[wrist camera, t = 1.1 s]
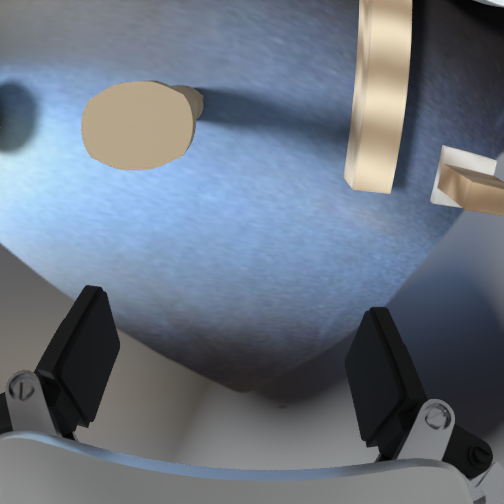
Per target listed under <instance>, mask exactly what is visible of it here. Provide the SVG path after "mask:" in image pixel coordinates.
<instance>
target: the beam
mask: <svg viewBox="0 0 504 504" xmlns="http://www.w3.org/2000/svg"><path fill="white" fill-rule="evenodd" d="M411 32H412V0H360V3H359V30H358V48H357V63H356V76H355V87H354V98H353V107H352V116H351V125H350V133H349V141H348V149H347V156H346V163H345V170H344V177H343V178H344V179H345V180H346V181H347V183H348V184H349V185H350V186H351V187H352V189H353V190H361V191H370V192H380V193H388V194H390V193H391V188H392V184H393V179H394V174H395V169H396V163H397V158H398V152H399V146H400V140H401V134H402V127H403V120H404V113H405V105H406V97H407V88H408V78H409V66H410V52H411Z"/></svg>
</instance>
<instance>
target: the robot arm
mask: <svg viewBox="0 0 504 504" xmlns="http://www.w3.org/2000/svg"><path fill="white" fill-rule="evenodd" d="M119 349H120V341H119V337H118V334H117V330H116V327H115V323H114V320H113V316H112V312H111V308H110V305H109V301H108V297H107V293H106V292H105V291H103V289H102V288H101V287H98V286H90V285H87V286H85V287H84V289H83V290H82V292H81V293H80V295H79V297H78V298H77V300H76V301H75V303H74V305H73V306H72V308H71V309H70V311H69V313H68V314H67V316H66V318H65V319H64V320H63V321H62V323H61V324H60V326H59V328H58V329H57V331H56V333H55V334H54V336H53V338H52V340H51V341H50V343H49V345H48V347H47V349H46V350H45V352H44V354H43V356H42V358H41V360H40V361H39V363H38V365H37V367H36V369H35V371H34V372H31V371H29V370H21V371H18V372H16V373H14V374H13V375H12V376H11V377H10V378H9V379H8V381H7V382H6V386H5V392H4V393H1V394H0V504H504V468H503V467H502V466H501V465H500V464H499V463H498V462H497V461H496V462H493V461H492V460H493V454H492V450H491V448H490V446H489V445H488V444H487V443H486V442H485V441H483V440H482V439H479V438H478V437H476V436H475V435H473V434H471V433H469V432H468V431H466V430H464V429H463V428H461V427H459V426H458V425H456V424H454V422H455V417H454V413H453V411H452V409H451V407H450V406H449V405H448V404H446V403H445V402H443V401H441V400H438V399H437V400H436V399H432V400H427V397H426V394H425V392H424V389H423V387H422V384H421V382H420V379H419V377H418V374H417V372H416V369H415V367H414V364H413V362H412V359H411V357H410V355H409V352H408V350H407V348H406V346H405V344H404V343H403V341H402V339H401V337H400V334H399V332H398V330H397V328H396V326H395V323H394V321H393V319H392V317H391V315H390V312H389V310H388V309H387V308H386V307H371V308H370V310H369V311H366V312H365V314H364V316H363V319H362V321H361V324H360V326H359V328H358V331H357V333H356V336H355V338H354V340H353V343H352V345H351V347H350V349H349V352H348V354H347V356H346V358H345V368H346V373H347V377H348V381H349V385H350V389H351V394H352V398H353V403H354V407H355V411H356V416H357V421H358V425H359V430H360V434H361V439H362V440H363V441H366V446H367V447H374V446H378V449H379V452H380V453H379V455H378V457H377V458H376V460H375V462H374V463H368V464H362V465H352V466H343V467H334V468H321V469H306V470H236V469H220V468H210V467H199V466H191V465H183V464H176V463H169V462H163V461H157V460H151V459H146V458H141V457H136V456H131V455H127V454H122V453H118V452H114V451H110V450H106V449H102V448H98V447H94V446H90V445H87V444H83V443H80V442H79V440H78V438H77V436H76V434H75V430H76V427H77V425H79V426H83V427H86V428H88V426H89V423H90V422H93V421H94V419H95V417H96V414H97V411H98V408H99V405H100V402H101V399H102V396H103V393H104V390H105V387H106V385H107V382H108V379H109V376H110V374H111V371H112V368H113V365H114V363H115V360H116V358H117V355H118V352H119Z"/></svg>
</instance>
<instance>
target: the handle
mask: <svg viewBox="0 0 504 504" xmlns="http://www.w3.org/2000/svg"><path fill="white" fill-rule="evenodd" d="M203 99H204V97H203V95H202V94H200V93H199V92H198V91H197V90H195V89H194V88H191V87H189V86H183V85H174V86H169V85H167V84H164V83H161V82H158V81H138V82H126V83H120V84H116V85H113V86H111V87H109V88H107V89H105V90H104V91H102V92H101V93H99V94H98V95H96V96H95V97H93V98H92V99H90V100H89V101H88V103H87V104H86V106H85V109H84V112H83V116H82V123H81V131H82V139H83V142H84V146H85V148H86V150H87V152H88V153H89V155H90V156H91V157H92V158H94V159H96V160H98V161H100V162H102V163H104V164H106V165H108V166H110V167H113V168H116V169H122V170H148V169H154V168H157V167H160V166H162V165H164V164H166V163H169V162H171V161H173V160H175V159H177V158H179V157H182V156H183V155H184V153H185V152H186V151H187V149H188V148H189V146H190V144H191V142H192V140H193V137H194V134H195V127H196V120H197V119H198V118H199V116H200V115H201V113H202V112H203Z"/></svg>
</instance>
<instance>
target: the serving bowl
mask: <svg viewBox="0 0 504 504" xmlns="http://www.w3.org/2000/svg"><path fill="white" fill-rule="evenodd" d="M474 1H477V2H480V3H483V4H487V5H492V6H498V7H504V0H474Z"/></svg>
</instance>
